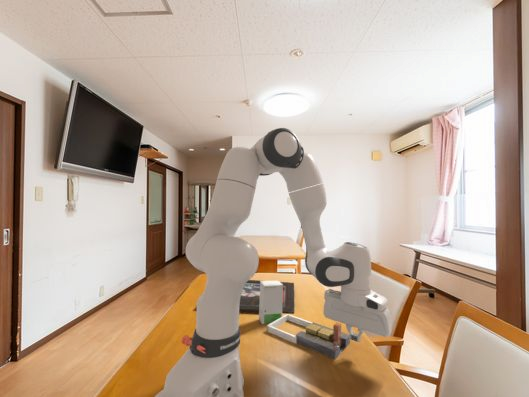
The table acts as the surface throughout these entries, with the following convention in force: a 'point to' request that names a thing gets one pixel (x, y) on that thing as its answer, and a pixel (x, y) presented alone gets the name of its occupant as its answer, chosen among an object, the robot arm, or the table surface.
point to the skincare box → (270, 301)
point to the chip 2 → (326, 334)
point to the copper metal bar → (337, 334)
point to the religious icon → (252, 297)
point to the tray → (283, 334)
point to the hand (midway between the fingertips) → (355, 340)
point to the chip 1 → (313, 329)
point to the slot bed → (323, 343)
